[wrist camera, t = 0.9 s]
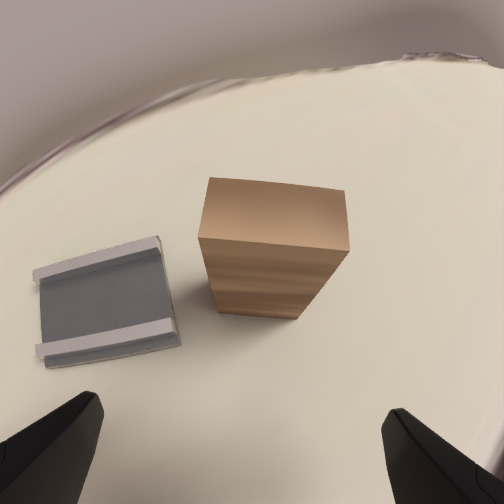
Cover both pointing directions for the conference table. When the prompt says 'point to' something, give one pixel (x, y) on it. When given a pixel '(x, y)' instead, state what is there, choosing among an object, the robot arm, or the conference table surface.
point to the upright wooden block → (270, 244)
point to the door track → (106, 305)
